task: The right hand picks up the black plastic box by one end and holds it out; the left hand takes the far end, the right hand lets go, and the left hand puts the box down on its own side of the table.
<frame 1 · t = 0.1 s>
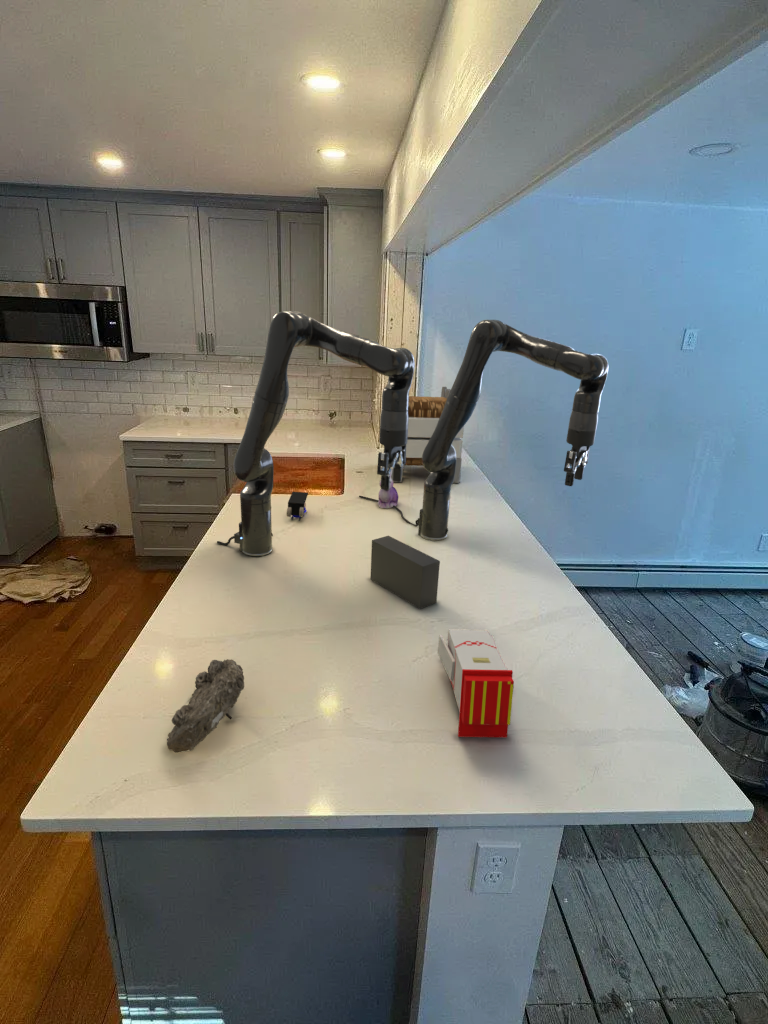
left hand: (391, 485, 155), 29 cm above the counter, tool pointing down, fingers open, 8 cm apart
right hand: (573, 482, 165), 29 cm above the counter, tool pointing down, fingers open, 8 cm apart
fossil: (212, 717, 108), on the counter
box: (402, 590, 160), on the counter
figurine character: (297, 516, 212), on the counter
figurine: (387, 505, 228), on the counter
toy: (469, 691, 119), on the counter
transformer: (419, 473, 275), on the counter
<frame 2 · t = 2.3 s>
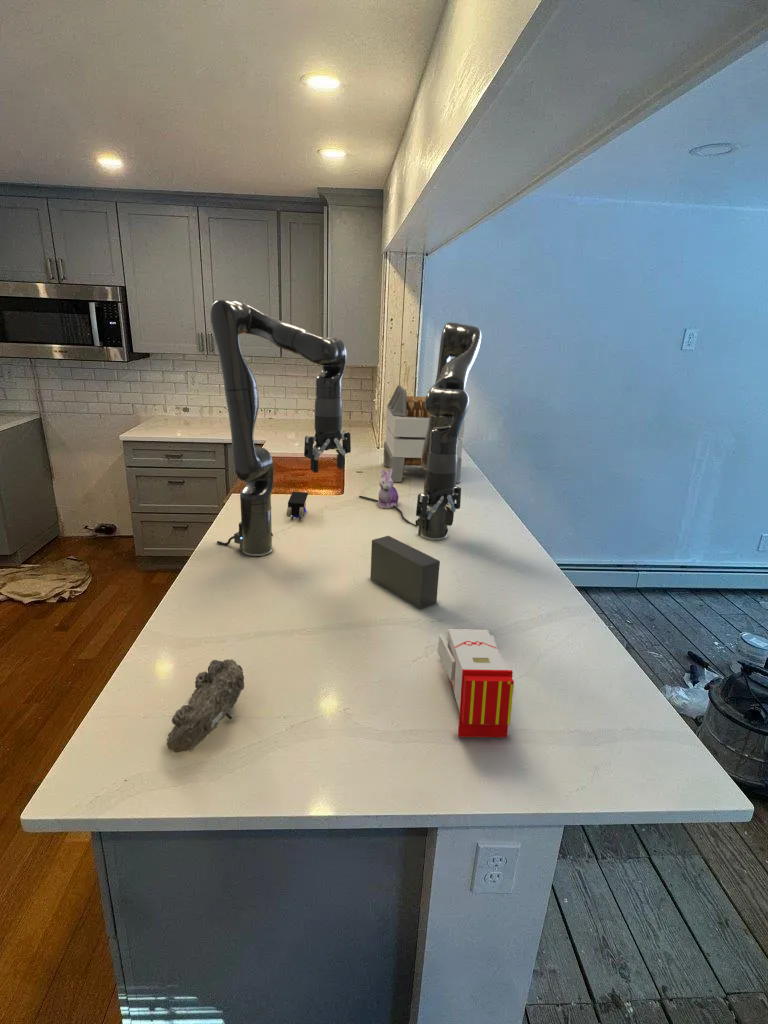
left hand: (327, 470, 162), 31 cm above the counter, tool pointing down, fingers open, 8 cm apart
right hand: (437, 528, 149), 21 cm above the counter, tool pointing down, fingers open, 8 cm apart
nothing on the counter moved.
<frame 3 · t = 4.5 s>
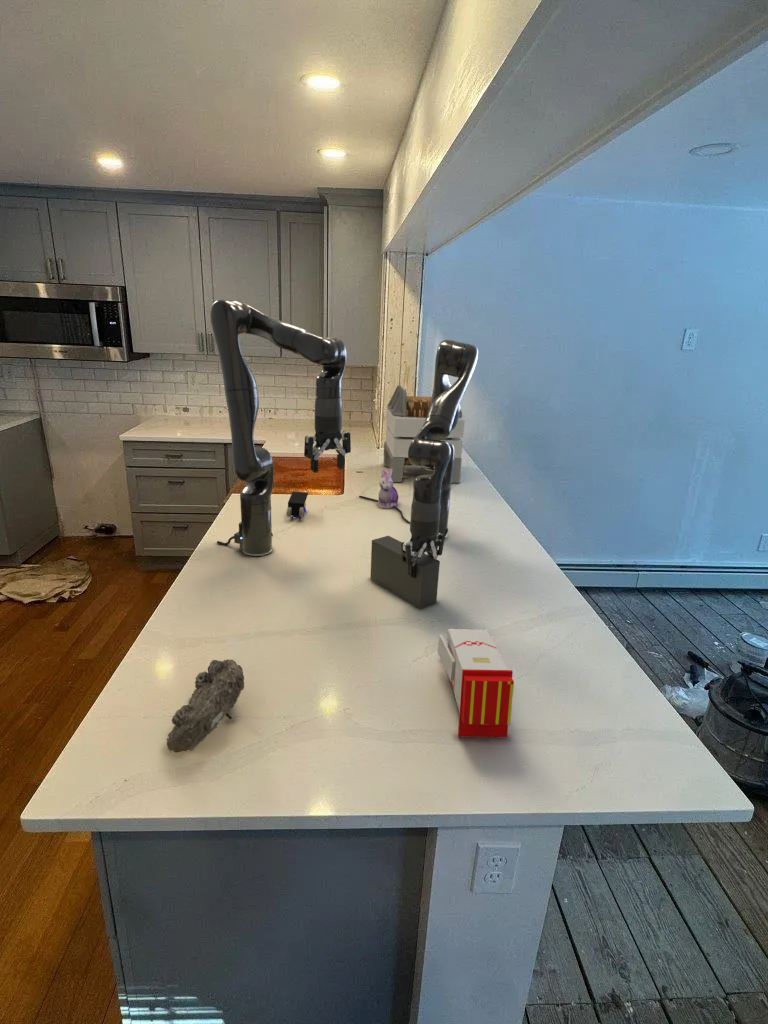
left hand: (327, 470, 162), 31 cm above the counter, tool pointing down, fingers open, 8 cm apart
right hand: (421, 573, 152), 8 cm above the counter, tool pointing down, fingers closed on box, 6 cm apart
box: (402, 590, 160), on the counter, touching right hand
everything else where it was.
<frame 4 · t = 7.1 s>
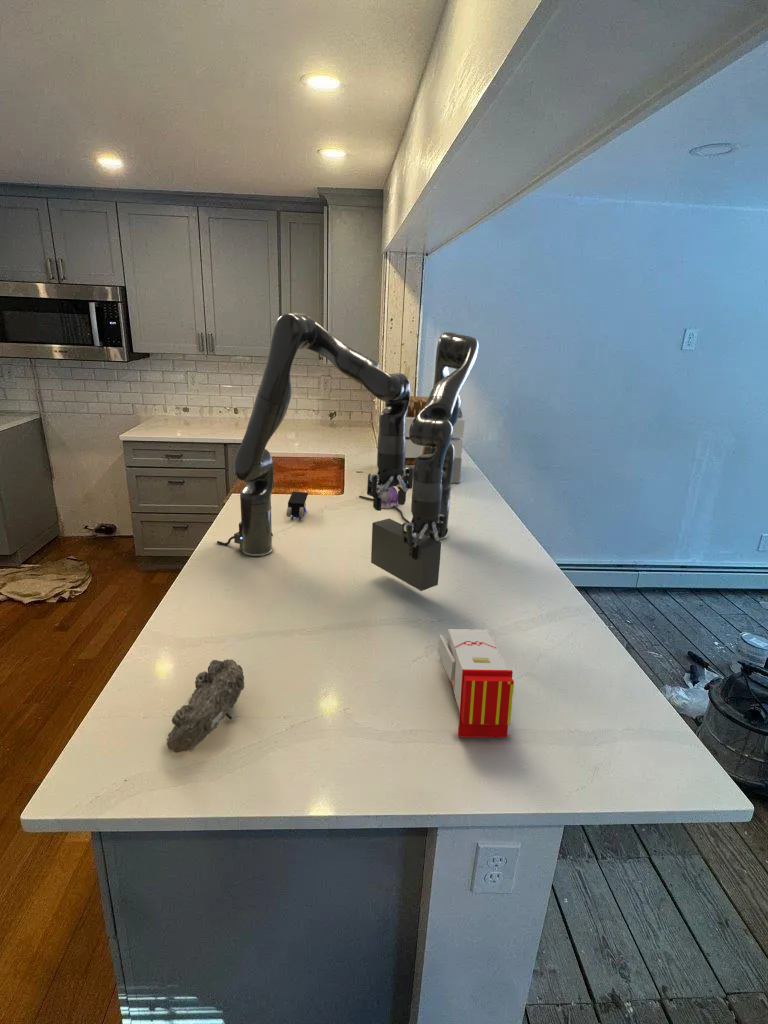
left hand: (389, 507, 157), 23 cm above the counter, tool pointing down, fingers open, 8 cm apart
right hand: (422, 555, 150), 13 cm above the counter, tool pointing down, fingers closed on box, 6 cm apart
box: (403, 573, 158), point 5 cm above the counter, touching right hand
everything else where it was.
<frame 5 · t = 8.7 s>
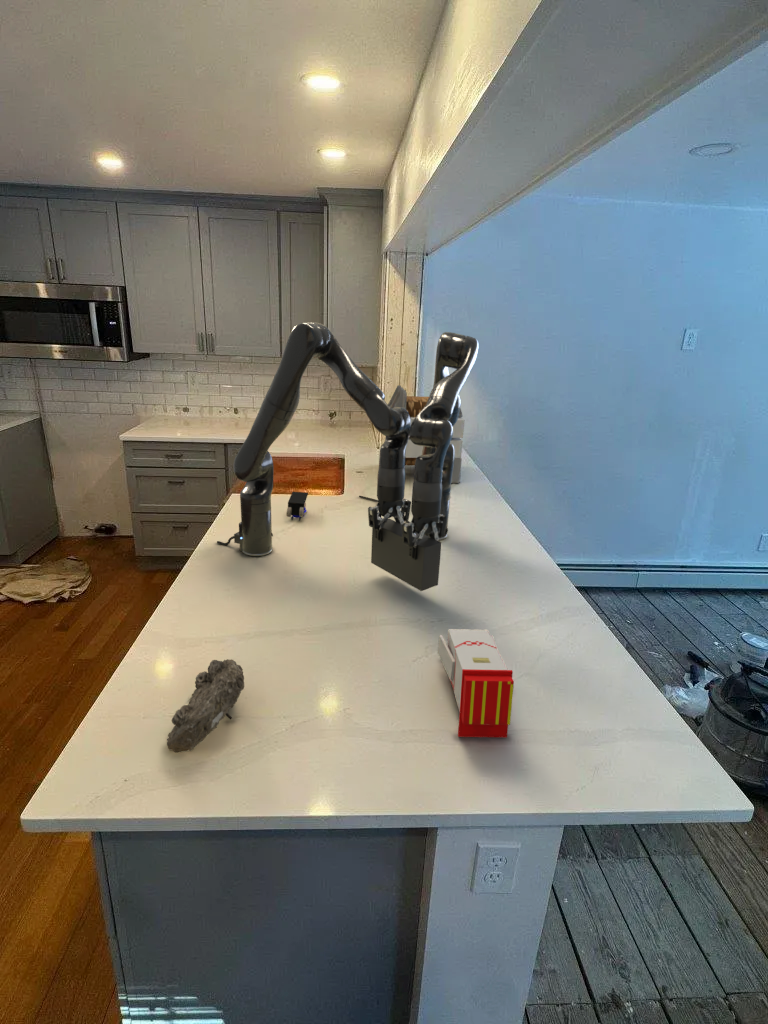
left hand: (388, 538, 160), 14 cm above the counter, tool pointing down, fingers closed on box, 6 cm apart
right hand: (422, 555, 150), 13 cm above the counter, tool pointing down, fingers closed on box, 6 cm apart
box: (403, 573, 158), point 5 cm above the counter, touching right hand, left hand
everything else where it was.
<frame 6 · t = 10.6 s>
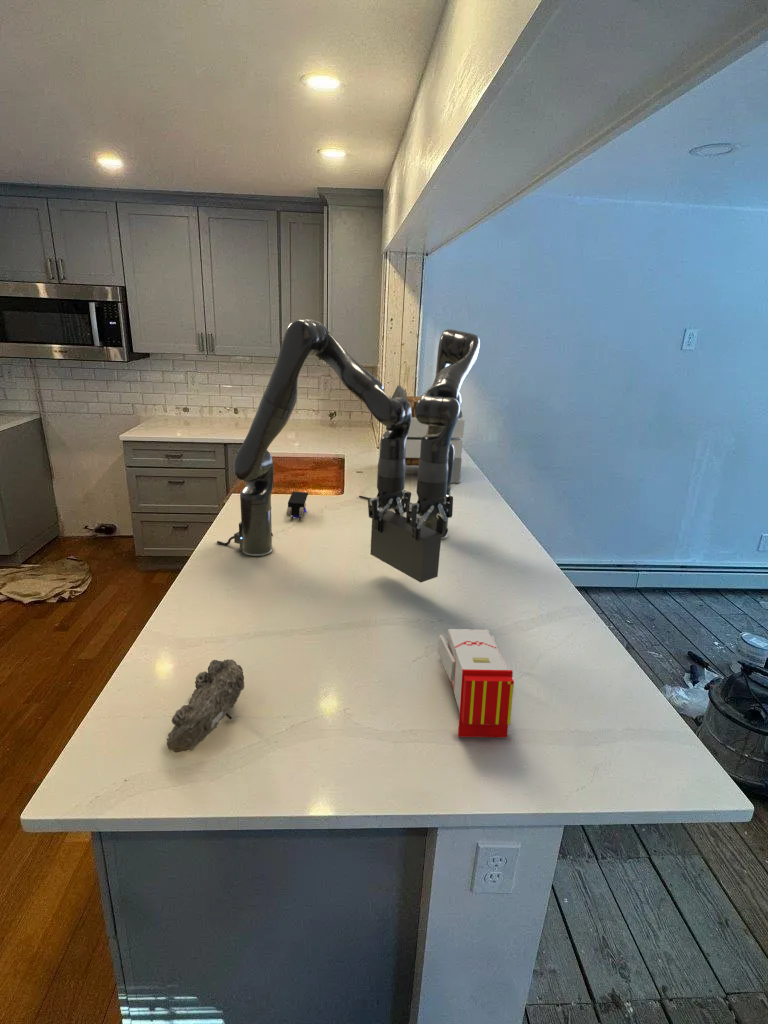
left hand: (388, 529, 160), 16 cm above the counter, tool pointing down, fingers closed on box, 6 cm apart
right hand: (428, 537, 147), 19 cm above the counter, tool pointing down, fingers open, 8 cm apart
box: (402, 565, 157), point 8 cm above the counter, touching left hand
everything else where it was.
when the left hand's fingers open (9 cm above the counter, at t = 13.5 s): box stays where it is, on the counter.
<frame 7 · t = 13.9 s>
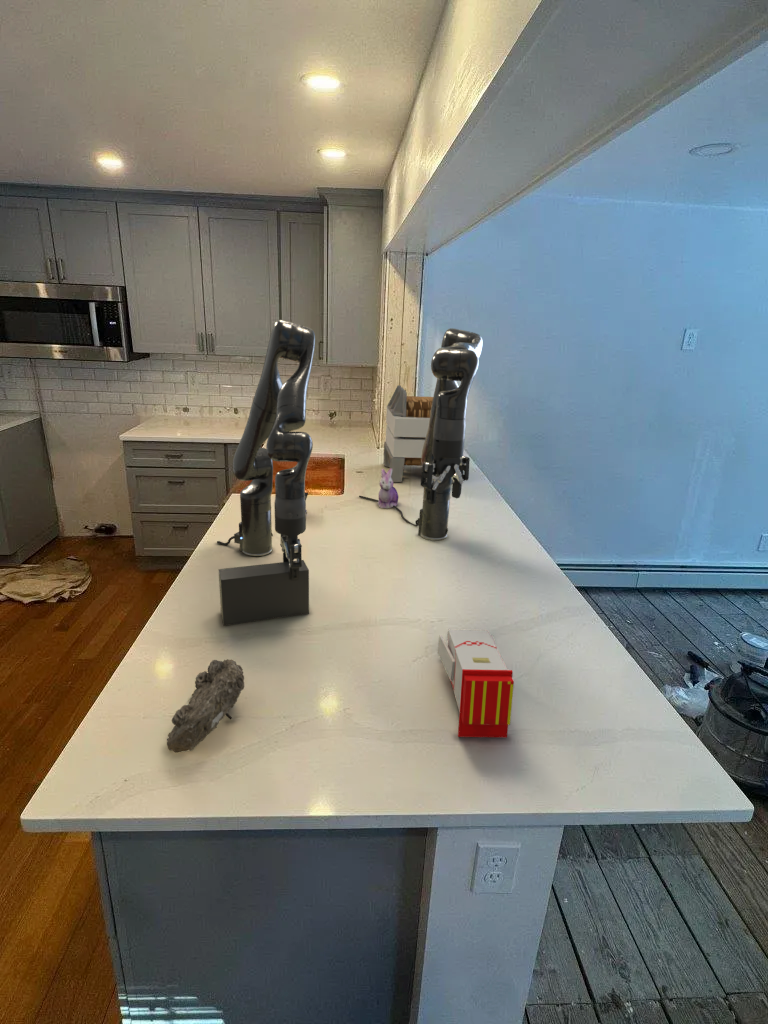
left hand: (290, 572, 143), 11 cm above the counter, tool pointing down, fingers open, 8 cm apart
right hand: (443, 500, 140), 31 cm above the counter, tool pointing down, fingers open, 8 cm apart
box: (265, 613, 145), on the counter
everything else where it was.
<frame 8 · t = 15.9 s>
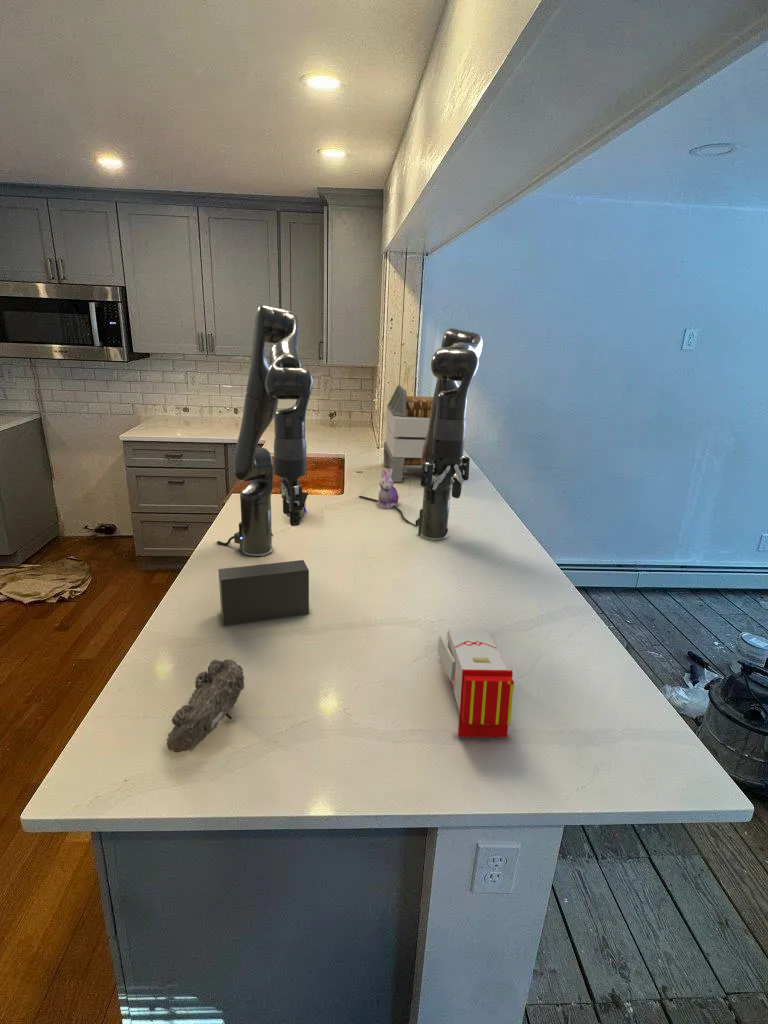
left hand: (291, 519, 139), 25 cm above the counter, tool pointing down, fingers open, 8 cm apart
right hand: (443, 500, 140), 31 cm above the counter, tool pointing down, fingers open, 8 cm apart
nothing on the counter moved.
at the end: box inside the target area (6.9 cm from its centre), on the counter; the left hand is holding nothing; the right hand is holding nothing; box at rest at the end (0.0 cm/s) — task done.
